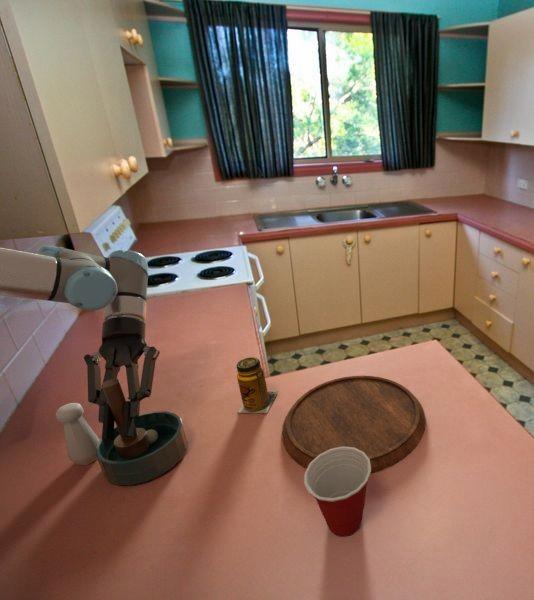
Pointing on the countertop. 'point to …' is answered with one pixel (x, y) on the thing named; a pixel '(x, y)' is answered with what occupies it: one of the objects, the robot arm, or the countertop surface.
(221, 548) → the countertop surface
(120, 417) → the wooden masher
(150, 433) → the cream ball
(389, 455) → the cutting board
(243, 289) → the countertop surface
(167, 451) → the bowl
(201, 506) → the countertop surface
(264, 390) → the condiment
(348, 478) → the plastic cup
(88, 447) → the salt shaker
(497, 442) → the countertop surface
